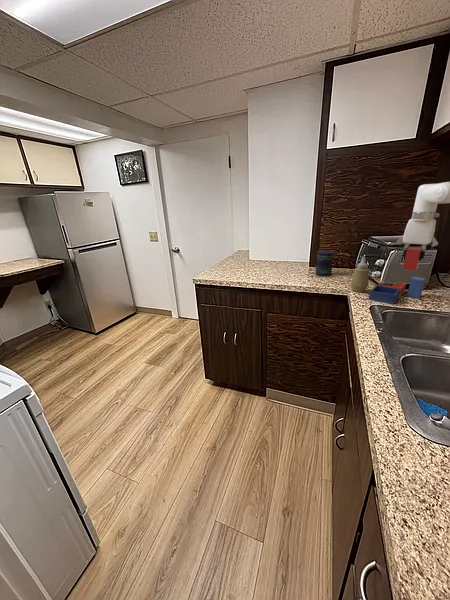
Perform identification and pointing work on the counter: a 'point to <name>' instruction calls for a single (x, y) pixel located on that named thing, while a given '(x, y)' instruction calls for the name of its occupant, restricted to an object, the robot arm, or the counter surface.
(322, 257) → the storage jar
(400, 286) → the red bin
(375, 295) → the blue bin
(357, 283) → the squeeze bottle
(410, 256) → the red block
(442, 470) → the counter surface
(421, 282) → the blue block
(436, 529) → the counter surface
